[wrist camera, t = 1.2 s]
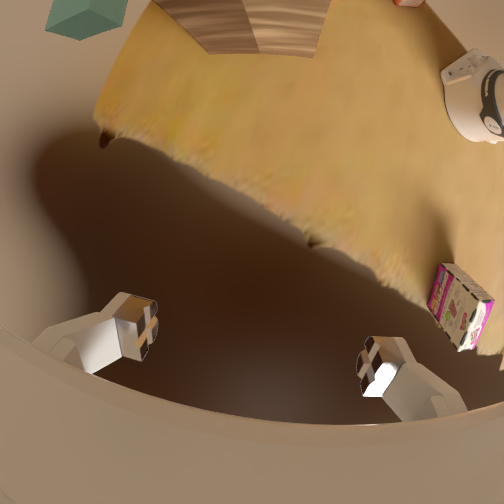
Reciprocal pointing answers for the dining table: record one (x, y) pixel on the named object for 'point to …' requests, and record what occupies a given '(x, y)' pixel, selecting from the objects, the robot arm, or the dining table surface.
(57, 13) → the teal bar
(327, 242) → the dining table surface
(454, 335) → the candy bar box
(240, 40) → the step stand
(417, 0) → the cracker box
